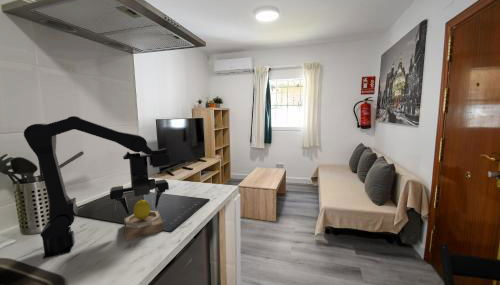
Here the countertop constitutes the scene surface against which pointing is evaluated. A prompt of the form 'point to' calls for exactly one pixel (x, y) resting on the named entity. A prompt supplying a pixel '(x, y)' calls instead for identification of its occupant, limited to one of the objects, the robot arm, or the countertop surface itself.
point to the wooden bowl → (142, 225)
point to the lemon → (141, 209)
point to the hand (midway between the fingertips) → (142, 210)
